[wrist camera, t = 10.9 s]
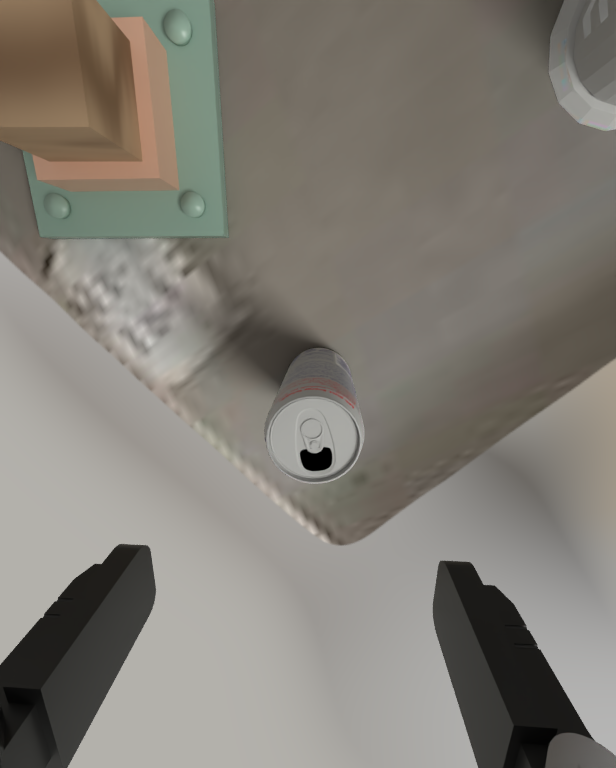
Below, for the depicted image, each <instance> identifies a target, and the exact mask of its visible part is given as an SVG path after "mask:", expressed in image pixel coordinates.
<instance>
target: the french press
mask: <svg viewBox="0 0 616 768" xmlns="http://www.w3.org/2000/svg"><path fill="white" fill-rule="evenodd" d="M548 73H549V76H550V79H551V82H552V85H553V88H554V91H555V94H556V97H557V100H558V103H559V104H560V105H561V106H562V107H563V108H564V109H565V110H566V111H567V112H568V113H569V114H570V115H571V116H572V117H573V118H574V119H575V120H576V121H577V122H578V123H580V124H584V125H587V126H590V127H594V128H597V129H600V130H604V131H608V130H615V129H616V0H564V2H563V5H562V7H561V10H560V12H559V15H558V18H557V20H556V23H555V25H554V28H553V31H552V33H551V36H550V53H549V71H548Z"/></svg>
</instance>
